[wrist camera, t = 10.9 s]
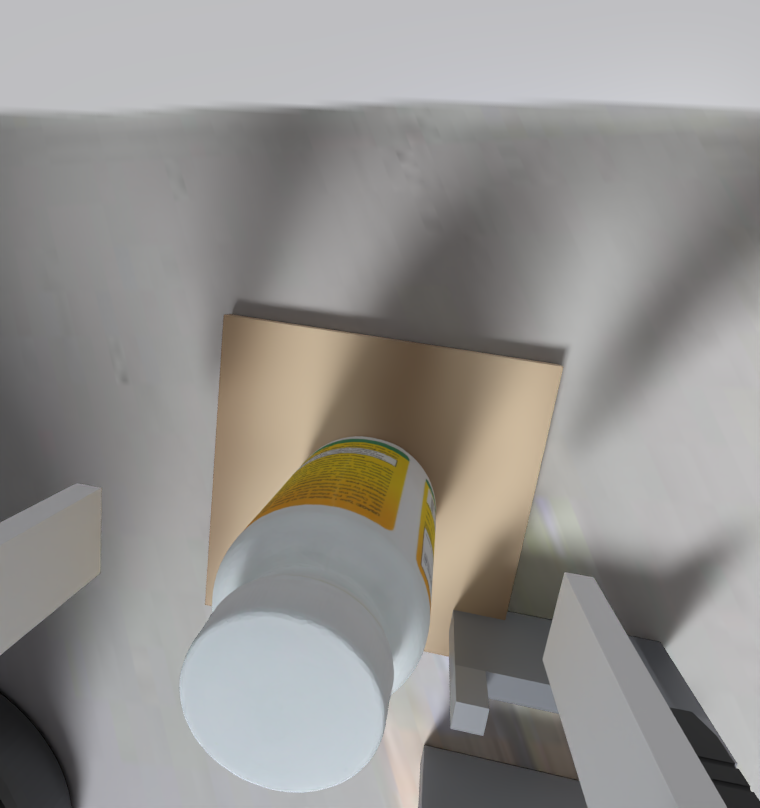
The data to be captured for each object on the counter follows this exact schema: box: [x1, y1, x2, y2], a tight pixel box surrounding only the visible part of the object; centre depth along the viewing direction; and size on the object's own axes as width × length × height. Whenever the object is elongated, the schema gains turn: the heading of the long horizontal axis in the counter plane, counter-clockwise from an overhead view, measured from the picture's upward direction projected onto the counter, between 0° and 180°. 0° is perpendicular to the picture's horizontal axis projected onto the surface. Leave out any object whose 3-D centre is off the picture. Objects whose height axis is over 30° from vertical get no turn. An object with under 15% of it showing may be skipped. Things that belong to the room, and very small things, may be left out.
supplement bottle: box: [179, 436, 436, 793], centre depth 14 cm, size 5×5×10 cm
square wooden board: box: [205, 314, 563, 656], centre depth 19 cm, size 12×12×1 cm
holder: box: [418, 610, 737, 808], centre depth 17 cm, size 8×8×5 cm
